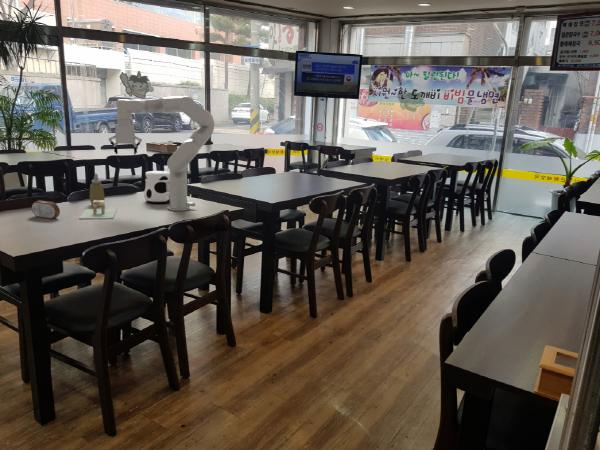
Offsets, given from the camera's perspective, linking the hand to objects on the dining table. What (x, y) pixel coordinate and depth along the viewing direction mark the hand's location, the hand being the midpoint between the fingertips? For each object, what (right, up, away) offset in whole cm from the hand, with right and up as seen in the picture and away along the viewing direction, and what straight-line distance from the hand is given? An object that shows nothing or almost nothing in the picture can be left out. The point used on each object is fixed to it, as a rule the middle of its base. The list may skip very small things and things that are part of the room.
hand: (125, 154), depth 268 cm
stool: (-10, -33, -12) cm, 37 cm away
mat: (-10, -34, -12) cm, 37 cm away
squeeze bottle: (-20, -28, +10) cm, 36 cm away
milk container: (+10, -25, +28) cm, 39 cm away
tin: (-31, -36, -25) cm, 54 cm away
